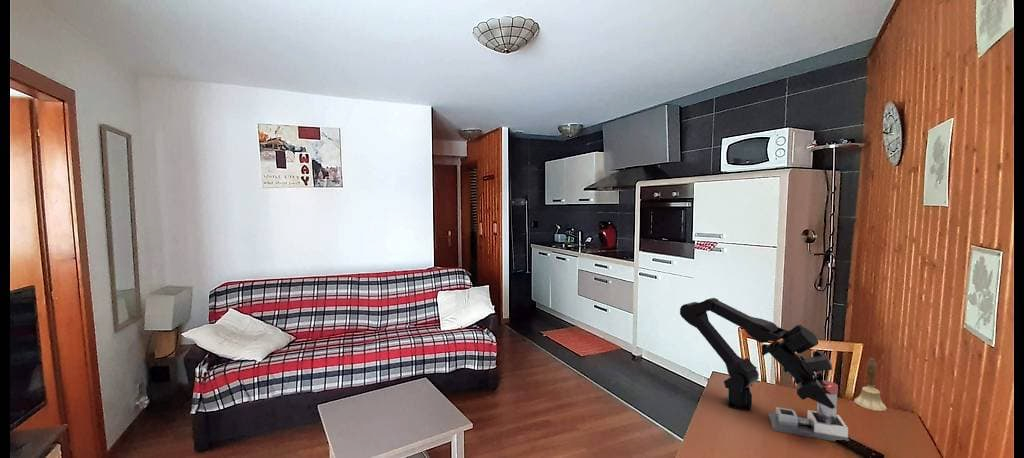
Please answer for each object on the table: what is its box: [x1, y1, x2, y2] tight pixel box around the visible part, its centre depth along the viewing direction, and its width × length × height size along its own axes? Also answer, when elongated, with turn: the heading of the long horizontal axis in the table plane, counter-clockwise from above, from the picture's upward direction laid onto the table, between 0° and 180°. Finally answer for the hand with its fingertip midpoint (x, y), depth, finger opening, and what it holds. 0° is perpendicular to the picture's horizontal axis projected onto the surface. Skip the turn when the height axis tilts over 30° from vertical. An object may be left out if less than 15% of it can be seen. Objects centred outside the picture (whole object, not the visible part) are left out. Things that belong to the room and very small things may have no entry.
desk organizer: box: [768, 406, 850, 442], centre depth 122 cm, size 18×9×4 cm, turn 66°
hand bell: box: [853, 357, 888, 412], centre depth 135 cm, size 8×8×16 cm
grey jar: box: [816, 379, 839, 425], centre depth 120 cm, size 5×5×12 cm
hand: (833, 404), depth 119 cm, fingers closed on grey jar, 4 cm apart
